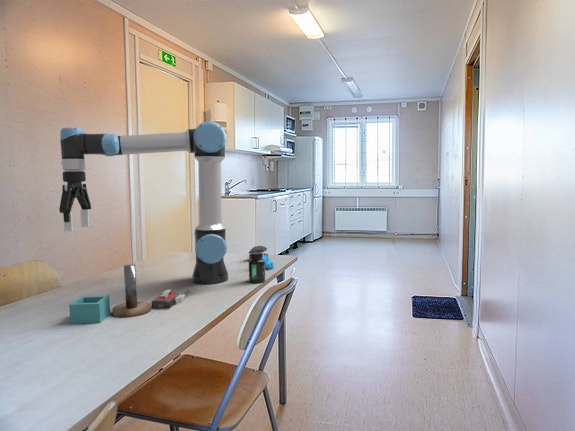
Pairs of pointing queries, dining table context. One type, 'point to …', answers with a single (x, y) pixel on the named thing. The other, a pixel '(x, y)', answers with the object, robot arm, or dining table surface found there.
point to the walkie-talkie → (168, 299)
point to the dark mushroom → (258, 250)
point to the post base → (131, 310)
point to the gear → (267, 261)
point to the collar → (89, 309)
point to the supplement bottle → (256, 268)
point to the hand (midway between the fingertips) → (77, 228)
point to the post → (130, 286)
